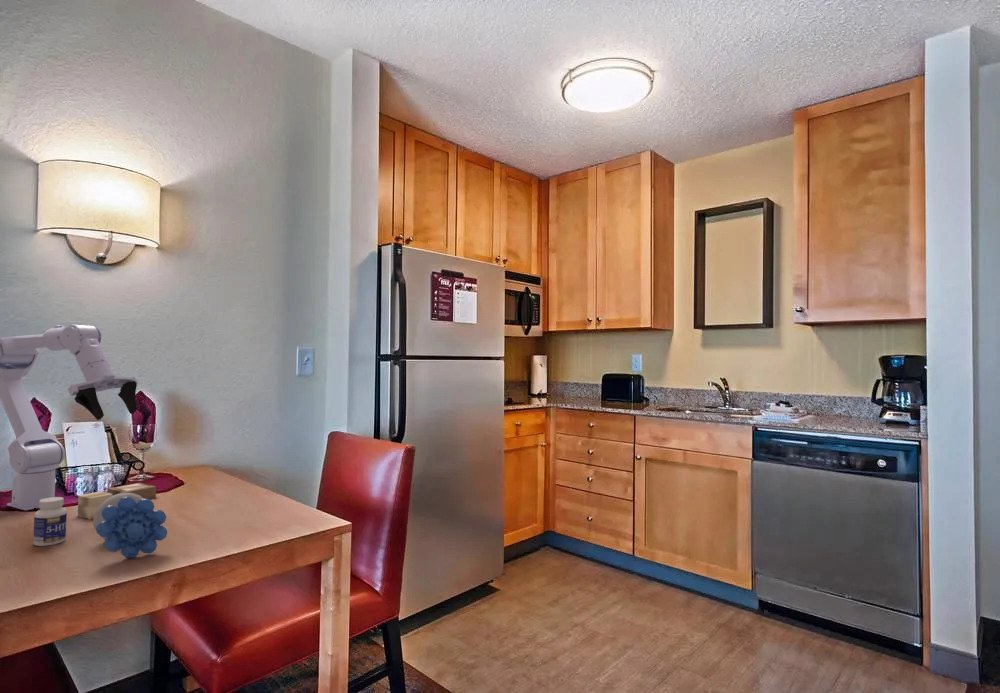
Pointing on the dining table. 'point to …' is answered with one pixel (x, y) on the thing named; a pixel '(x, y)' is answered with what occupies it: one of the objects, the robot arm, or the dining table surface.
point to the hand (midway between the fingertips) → (117, 414)
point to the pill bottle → (50, 522)
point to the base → (135, 490)
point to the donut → (112, 502)
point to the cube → (91, 503)
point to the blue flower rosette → (132, 527)
